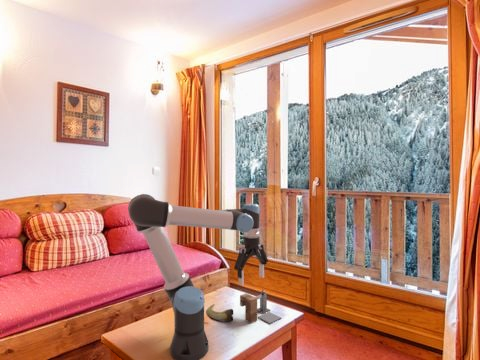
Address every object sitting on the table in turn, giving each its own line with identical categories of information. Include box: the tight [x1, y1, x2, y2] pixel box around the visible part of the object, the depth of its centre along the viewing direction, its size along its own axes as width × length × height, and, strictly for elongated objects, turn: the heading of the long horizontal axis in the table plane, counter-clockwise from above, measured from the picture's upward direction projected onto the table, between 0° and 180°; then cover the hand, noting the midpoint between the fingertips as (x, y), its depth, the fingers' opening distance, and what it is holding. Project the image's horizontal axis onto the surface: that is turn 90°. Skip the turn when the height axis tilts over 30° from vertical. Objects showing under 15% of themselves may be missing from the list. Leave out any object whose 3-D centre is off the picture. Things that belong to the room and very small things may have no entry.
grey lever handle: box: [239, 289, 271, 315], centre depth 148 cm, size 18×5×10 cm, turn 132°
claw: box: [206, 303, 234, 322], centre depth 148 cm, size 20×10×3 cm, turn 47°
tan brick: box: [239, 293, 258, 324], centre depth 143 cm, size 8×4×11 cm, turn 42°
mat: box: [257, 311, 282, 325], centre depth 144 cm, size 8×8×1 cm
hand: (251, 280), depth 142 cm, fingers open, 13 cm apart
